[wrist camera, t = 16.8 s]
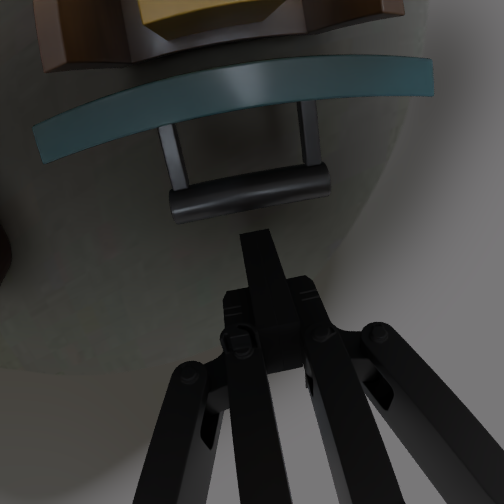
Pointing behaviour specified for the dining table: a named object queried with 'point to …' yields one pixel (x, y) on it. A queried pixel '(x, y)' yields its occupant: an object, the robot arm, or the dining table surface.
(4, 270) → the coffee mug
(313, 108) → the drawer
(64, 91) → the dining table surface
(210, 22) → the block
